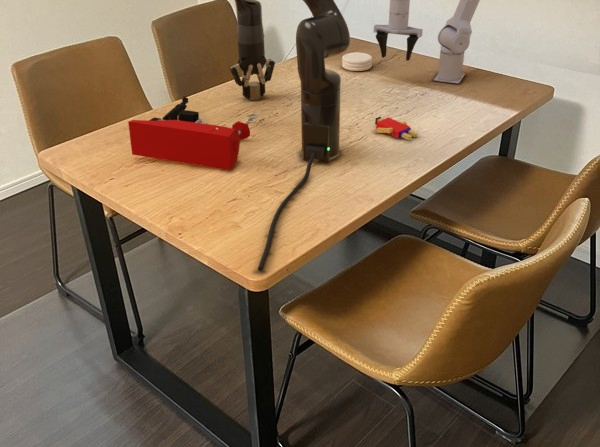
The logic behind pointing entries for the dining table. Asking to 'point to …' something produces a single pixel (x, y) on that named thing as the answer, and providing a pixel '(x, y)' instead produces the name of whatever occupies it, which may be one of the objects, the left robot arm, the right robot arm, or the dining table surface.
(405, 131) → the toy figure
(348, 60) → the white ridged disc
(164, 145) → the electric hoist
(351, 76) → the dining table surface
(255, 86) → the canister
